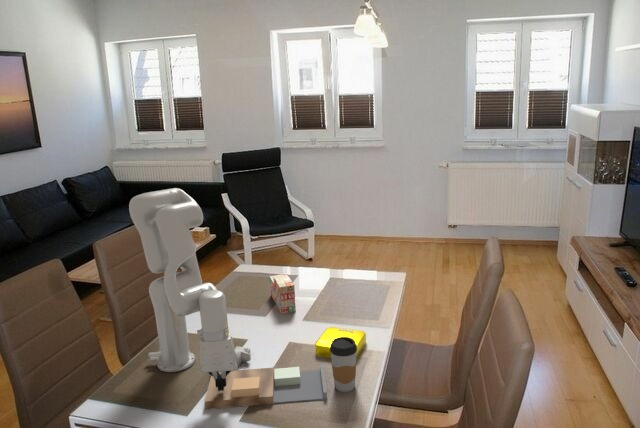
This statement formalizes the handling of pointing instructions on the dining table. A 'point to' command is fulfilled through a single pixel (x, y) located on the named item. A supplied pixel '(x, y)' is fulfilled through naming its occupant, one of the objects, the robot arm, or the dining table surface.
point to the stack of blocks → (283, 293)
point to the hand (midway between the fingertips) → (221, 388)
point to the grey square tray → (303, 388)
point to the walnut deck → (226, 400)
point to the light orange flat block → (246, 387)
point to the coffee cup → (343, 363)
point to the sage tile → (287, 376)
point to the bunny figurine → (242, 355)
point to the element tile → (333, 333)
